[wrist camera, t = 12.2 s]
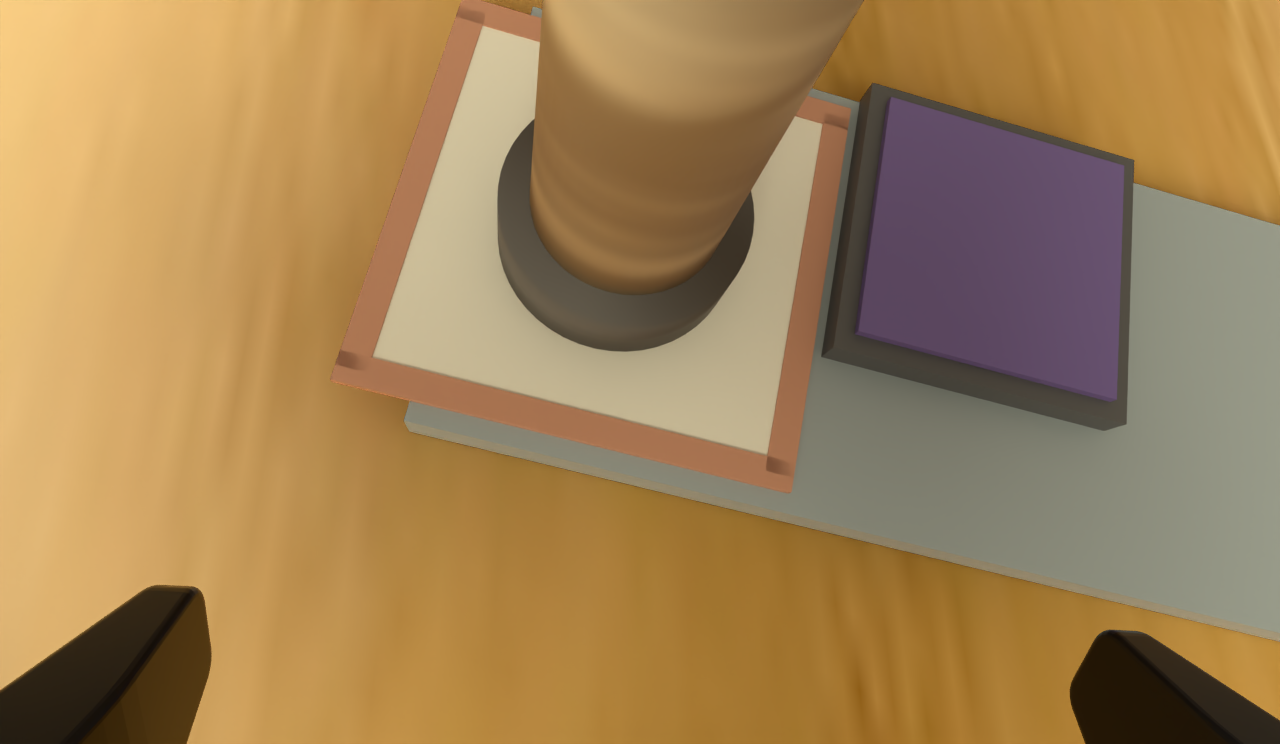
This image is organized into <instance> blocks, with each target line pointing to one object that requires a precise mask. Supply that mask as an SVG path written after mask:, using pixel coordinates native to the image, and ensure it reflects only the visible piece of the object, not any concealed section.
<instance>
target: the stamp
mask: <svg viewBox="0 0 1280 744" xmlns="http://www.w3.org/2000/svg"><path fill="white" fill-rule="evenodd" d="M863 1H864V0H543V2H542V17H541V32H540V47H539V62H538V77H537V92H536V107H535V119H534V120H532V121H531V122H530V123H529V124H528V125H527V127H526V128H525V129H524V130H523V131H522V132H521V133H520V134H519V136H518V137H517V139H516V140H515V141H514V143H513V144H512V146H511V148H510V150H509V152H508V154H507V156H506V158H505V161H504V164H503V166H502V169H501V173H500V178H499V183H498V196H497V223H498V247H499V255H500V259H501V263H502V267H503V270H504V272H505V275H506V277H507V279H508V282H509V284H510V285H511V287H512V289H513V291H514V292H515V294H516V296H517V297H518V298H519V300H520V301H521V302H522V304H523V305H524V306H525V307H526V309H527V310H528V311H529V312H530V313H531V314H532V315H533V316H534V317H535V318H536V319H537V320H539V321H540V322H541V323H543V324H544V325H545V326H546V327H548V328H549V329H550V330H552V331H554V332H556V333H557V334H559V335H561V336H562V337H564V338H566V339H569V340H571V341H573V342H576V343H578V344H581V345H584V346H588V347H591V348H594V349H600V350H607V351H621V352H629V351H640V350H646V349H650V348H655V347H658V346H661V345H664V344H667V343H669V342H672V341H674V340H676V339H678V338H680V337H681V336H683V335H685V334H687V333H688V332H689V331H691V330H692V329H693V328H695V327H696V326H697V325H699V324H700V323H701V322H702V321H703V320H704V319H705V318H706V317H707V316H708V315H709V313H710V312H711V311H712V309H713V308H714V307H715V306H716V304H717V303H718V301H719V300H720V299H721V297H722V296H723V294H724V293H725V291H726V290H727V289H728V287H729V286H730V284H731V283H732V281H733V280H734V279H735V277H736V276H737V274H738V272H739V271H740V269H741V267H742V265H743V264H744V262H745V259H746V257H747V254H748V251H749V249H750V245H751V241H752V236H753V229H754V204H753V198H752V193H751V189H752V188H753V186H754V184H755V183H756V181H757V179H758V178H759V176H760V174H761V173H762V171H763V169H764V168H765V166H766V164H767V163H768V161H769V159H770V157H771V156H772V154H773V152H774V151H775V149H776V147H777V146H778V144H779V142H780V141H781V139H782V137H783V136H784V134H785V132H786V131H787V129H788V127H789V125H790V124H791V122H792V120H793V119H794V117H795V115H796V114H797V112H798V110H799V109H800V107H801V105H802V104H803V102H804V100H805V99H806V97H807V95H808V93H809V92H810V90H811V88H812V87H813V85H814V83H815V82H816V80H817V78H818V77H819V75H820V73H821V72H822V70H823V68H824V67H825V65H826V63H827V61H828V60H829V58H830V56H831V55H832V53H833V51H834V50H835V48H836V46H837V45H838V43H839V41H840V40H841V38H842V36H843V35H844V33H845V31H846V29H847V28H848V26H849V24H850V23H851V21H852V19H853V18H854V16H855V14H856V13H857V11H858V9H859V8H860V6H861V4H862V3H863Z"/></svg>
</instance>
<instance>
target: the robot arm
mask: <svg viewBox="0 0 1280 744" xmlns="http://www.w3.org/2000/svg"><path fill="white" fill-rule="evenodd" d="M211 654H212V653H211V644H210V637H209V629H208V622H207V615H206V607H205V600H204V597H203V594H202V592H201V591H200V590H199V589H198V588H195V587H192V586H171V585H154V586H151V587H148V588H146V589H144V590H143V591H141V592H140V593H138V594H137V595H135V596H134V597H132V598H131V599H130V600H128V601H127V602H125V603H124V604H122V605H121V606H120V607H118V608H117V609H115V610H114V611H112V612H111V613H110V614H108V615H107V616H105V617H104V618H102V619H101V620H100V621H98V622H97V623H95V624H94V625H92V626H91V627H90V628H88V629H87V630H85V631H84V632H82V633H81V634H80V635H78V636H77V637H75V638H74V639H73V640H71V641H70V642H68V643H67V644H65V645H64V646H63V647H61V648H60V649H58V650H57V651H55V652H54V653H53V654H51V655H50V656H48V657H47V658H45V659H44V660H43V661H41V662H40V663H38V664H37V665H35V666H34V667H33V668H31V669H30V670H28V671H27V672H25V673H24V674H23V675H21V676H20V677H18V678H17V679H15V680H14V681H13V682H11V683H10V684H8V685H7V686H5V687H4V688H3V689H1V690H0V744H187V741H188V738H189V735H190V731H191V728H192V725H193V722H194V719H195V716H196V713H197V710H198V707H199V704H200V701H201V698H202V695H203V692H204V688H205V685H206V682H207V679H208V676H209V671H210V666H211ZM1070 701H1071V705H1072V709H1073V712H1074V714H1075V717H1076V720H1077V722H1078V725H1079V728H1080V730H1081V733H1082V736H1083V738H1084V741H1085V744H1280V720H1278V719H1277V718H1275V717H1273V716H1272V715H1270V714H1269V713H1267V712H1266V711H1264V710H1263V709H1261V708H1260V707H1258V706H1257V705H1255V704H1254V703H1252V702H1250V701H1249V700H1247V699H1246V698H1244V697H1243V696H1241V695H1240V694H1238V693H1237V692H1235V691H1234V690H1232V689H1231V688H1229V687H1227V686H1226V685H1224V684H1223V683H1221V682H1220V681H1218V680H1217V679H1215V678H1214V677H1212V676H1211V675H1209V674H1208V673H1206V672H1205V671H1203V670H1201V669H1200V668H1198V667H1197V666H1195V665H1194V664H1192V663H1191V662H1189V661H1188V660H1186V659H1185V658H1183V657H1182V656H1180V655H1178V654H1177V653H1175V652H1174V651H1172V650H1171V649H1169V648H1168V647H1166V646H1165V645H1163V644H1162V643H1160V642H1159V641H1157V640H1155V639H1154V638H1152V637H1151V636H1149V635H1147V634H1145V633H1142V632H1138V631H1123V630H1107V631H1103V632H1102V633H1100V634H1099V635H1098V636H1097V637H1096V638H1095V640H1094V642H1093V643H1092V645H1091V647H1090V649H1089V651H1088V652H1087V654H1086V656H1085V658H1084V660H1083V662H1082V663H1081V665H1080V667H1079V669H1078V671H1077V672H1076V674H1075V676H1074V678H1073V680H1072V682H1071V686H1070Z"/></svg>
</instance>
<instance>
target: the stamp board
mask: <svg viewBox="0 0 1280 744" xmlns="http://www.w3.org/2000/svg"><path fill="white" fill-rule="evenodd" d="M541 17H542V9H540V8H536V7H533V8H532V12H531V15H529V14H526V13H522V12H519V11H515V10H512V9H509V8H505V7H502V6H498V5H495V4H492V3H488V2H485V1H481V0H462V1H461V3H460V6H459V9H458V12H457V15H456V18H455V21H454V24H453V26H452V29H451V32H450V35H449V38H448V41H447V44H446V47H445V50H444V52H443V55H442V58H441V61H440V64H439V67H438V70H437V73H436V75H435V78H434V81H433V84H432V87H431V90H430V93H429V96H428V99H427V101H426V104H425V107H424V110H423V113H422V116H421V119H420V122H419V124H418V127H417V130H416V133H415V136H414V139H413V142H412V145H411V148H410V150H409V153H408V156H407V159H406V162H405V165H404V168H403V171H402V173H401V176H400V179H399V182H398V185H397V188H396V191H395V194H394V197H393V199H392V202H391V205H390V208H389V211H388V214H387V217H386V220H385V222H384V225H383V228H382V231H381V234H380V237H379V240H378V243H377V245H376V248H375V251H374V254H373V257H372V260H371V263H370V266H369V269H368V271H367V274H366V277H365V280H364V283H363V286H362V289H361V292H360V294H359V297H358V300H357V303H356V306H355V309H354V312H353V315H352V318H351V320H350V323H349V326H348V329H347V332H346V335H345V338H344V341H343V343H342V346H341V349H340V352H339V355H338V358H337V361H336V364H335V367H334V369H333V372H332V375H331V378H330V380H331V381H332V382H334V383H338V384H342V385H346V386H351V387H355V388H359V389H363V390H367V391H371V392H375V393H379V394H383V395H387V396H391V397H395V398H400V399H404V400H408V401H410V402H409V405H408V408H407V412H406V415H405V418H404V422H405V424H406V426H407V428H408V430H409V431H410V432H414V433H418V434H422V435H426V436H430V437H434V438H439V439H443V440H447V441H451V442H455V443H459V444H463V445H468V446H472V447H476V448H480V449H484V450H488V451H492V452H497V453H501V454H505V455H509V456H513V457H517V458H521V459H526V460H530V461H534V462H538V463H542V464H546V465H550V466H555V467H559V468H563V469H567V470H571V471H575V472H579V473H583V474H588V475H592V476H596V477H600V478H604V479H608V480H612V481H617V482H621V483H625V484H629V485H633V486H637V487H641V488H646V489H650V490H654V491H658V492H662V493H666V494H670V495H675V496H679V497H683V498H687V499H691V500H695V501H699V502H704V503H708V504H712V505H716V506H720V507H724V508H728V509H733V510H737V511H741V512H745V513H749V514H753V515H757V516H762V517H766V518H770V519H774V520H778V521H782V522H786V523H791V524H795V525H799V526H803V527H807V528H811V529H815V530H820V531H824V532H828V533H832V534H836V535H840V536H844V537H848V538H853V539H857V540H861V541H865V542H869V543H873V544H877V545H882V546H886V547H890V548H894V549H898V550H902V551H906V552H911V553H915V554H919V555H923V556H927V557H931V558H935V559H940V560H944V561H948V562H952V563H956V564H960V565H964V566H969V567H973V568H977V569H981V570H985V571H989V572H993V573H998V574H1002V575H1006V576H1010V577H1014V578H1018V579H1022V580H1027V581H1031V582H1035V583H1039V584H1043V585H1047V586H1051V587H1056V588H1060V589H1064V590H1068V591H1072V592H1076V593H1080V594H1085V595H1089V596H1093V597H1097V598H1101V599H1105V600H1109V601H1113V602H1118V603H1122V604H1126V605H1130V606H1134V607H1138V608H1142V609H1147V610H1151V611H1155V612H1159V613H1163V614H1167V615H1171V616H1176V617H1180V618H1184V619H1188V620H1192V621H1196V622H1200V623H1205V624H1209V625H1213V626H1217V627H1221V628H1225V629H1229V630H1234V631H1238V632H1242V633H1246V634H1250V635H1254V636H1258V637H1263V638H1267V639H1271V640H1275V641H1279V642H1280V226H1279V225H1276V224H1272V223H1269V222H1266V221H1262V220H1259V219H1255V218H1252V217H1249V216H1245V215H1242V214H1238V213H1235V212H1232V211H1228V210H1225V209H1221V208H1218V207H1214V206H1211V205H1208V204H1204V203H1201V202H1197V201H1194V200H1191V199H1187V198H1184V197H1180V196H1177V195H1174V194H1170V193H1167V192H1163V191H1160V190H1157V189H1153V188H1150V187H1146V186H1143V185H1140V184H1136V183H1133V182H1134V160H1132V159H1129V158H1125V157H1122V156H1118V155H1115V154H1112V153H1108V152H1105V151H1102V150H1098V149H1095V148H1091V147H1088V146H1085V145H1081V144H1078V143H1075V142H1071V141H1068V140H1064V139H1061V138H1058V137H1054V136H1051V135H1047V134H1044V133H1041V132H1037V131H1034V130H1031V129H1027V128H1024V127H1020V126H1017V125H1014V124H1010V123H1007V122H1004V121H1000V120H997V119H993V118H990V117H987V116H983V115H980V114H977V113H973V112H970V111H966V110H963V109H960V108H956V107H953V106H950V105H946V104H943V103H939V102H936V101H933V100H929V99H926V98H923V97H919V96H916V95H912V94H909V93H906V92H902V91H899V90H896V89H892V88H889V87H885V86H882V85H879V84H875V83H872V84H871V86H870V87H869V89H868V90H867V92H866V93H865V94H864V96H863V97H862V99H861V100H860V102H857V101H853V100H850V99H846V98H843V97H840V96H836V95H833V94H829V93H826V92H823V91H819V90H816V89H812V88H811V90H810V92H809V93H808V95H807V97H806V99H805V100H804V102H803V104H802V105H801V107H800V109H799V110H798V112H797V114H796V115H795V117H794V119H793V120H792V122H791V124H790V125H789V127H788V129H787V131H786V132H785V134H784V136H783V137H782V139H781V141H780V142H779V144H778V146H777V147H776V149H775V151H774V152H773V154H772V156H771V157H770V159H769V161H768V163H767V164H766V166H765V168H764V169H763V171H762V173H761V174H760V176H759V178H758V179H757V181H756V183H755V184H754V186H753V188H752V189H751V193H752V198H753V204H754V229H753V236H752V241H751V245H750V249H749V251H748V254H747V257H746V259H745V262H744V264H743V265H742V267H741V269H740V271H739V272H738V274H737V276H736V277H735V279H734V280H733V281H732V283H731V284H730V286H729V287H728V289H727V290H726V291H725V293H724V294H723V296H722V297H721V299H720V300H719V301H718V303H717V304H716V306H715V307H714V308H713V309H712V311H711V312H710V313H709V315H708V316H707V317H706V318H705V319H704V320H703V321H702V322H701V323H700V324H699V325H697V326H696V327H695V328H693V329H692V330H691V331H689V332H688V333H687V334H685V335H683V336H681V337H680V338H678V339H676V340H674V341H672V342H669V343H667V344H664V345H661V346H658V347H655V348H650V349H646V350H640V351H629V352H621V351H607V350H600V349H594V348H591V347H588V346H584V345H581V344H578V343H576V342H573V341H571V340H569V339H566V338H564V337H562V336H561V335H559V334H557V333H556V332H554V331H552V330H550V329H549V328H548V327H546V326H545V325H544V324H543V323H541V322H540V321H539V320H537V319H536V318H535V317H534V316H533V315H532V314H531V313H530V312H529V311H528V310H527V309H526V307H525V306H524V305H523V304H522V302H521V301H520V300H519V298H518V297H517V296H516V294H515V292H514V291H513V289H512V287H511V285H510V284H509V282H508V279H507V277H506V275H505V272H504V270H503V267H502V263H501V259H500V255H499V247H498V223H497V196H498V183H499V178H500V173H501V169H502V166H503V164H504V161H505V158H506V156H507V154H508V152H509V150H510V148H511V146H512V144H513V143H514V141H515V140H516V139H517V137H518V136H519V134H520V133H521V132H522V131H523V130H524V129H525V128H526V127H527V125H528V124H529V123H530V122H531V121H532V120H534V119H535V107H536V92H537V77H538V62H539V47H540V32H541Z"/></svg>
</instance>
